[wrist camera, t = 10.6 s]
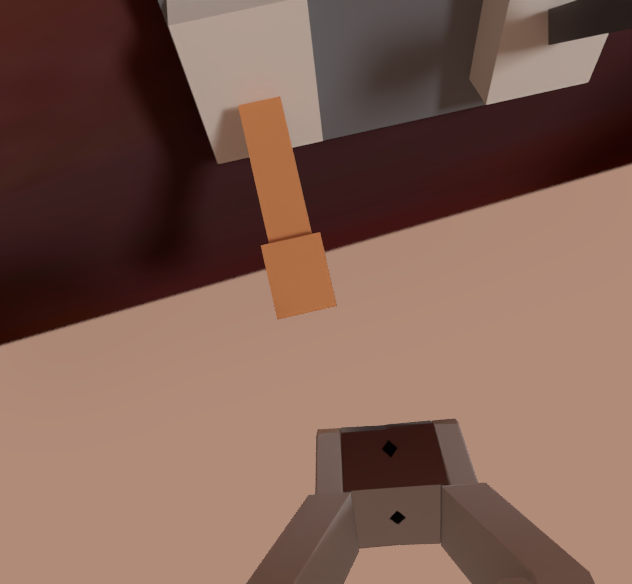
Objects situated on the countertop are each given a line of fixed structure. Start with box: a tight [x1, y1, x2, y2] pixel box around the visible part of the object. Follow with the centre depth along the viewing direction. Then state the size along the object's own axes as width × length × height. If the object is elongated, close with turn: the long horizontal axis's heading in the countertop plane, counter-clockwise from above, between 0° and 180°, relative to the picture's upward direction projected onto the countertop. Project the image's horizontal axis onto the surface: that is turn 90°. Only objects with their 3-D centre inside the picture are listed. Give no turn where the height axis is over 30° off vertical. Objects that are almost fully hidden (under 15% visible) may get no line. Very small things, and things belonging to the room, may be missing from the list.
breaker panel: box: [158, 0, 609, 164], centre depth 29 cm, size 26×14×6 cm, turn 96°
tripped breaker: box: [238, 96, 337, 319], centre depth 27 cm, size 3×4×12 cm
